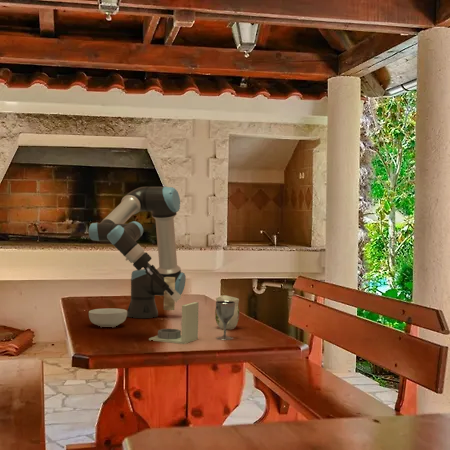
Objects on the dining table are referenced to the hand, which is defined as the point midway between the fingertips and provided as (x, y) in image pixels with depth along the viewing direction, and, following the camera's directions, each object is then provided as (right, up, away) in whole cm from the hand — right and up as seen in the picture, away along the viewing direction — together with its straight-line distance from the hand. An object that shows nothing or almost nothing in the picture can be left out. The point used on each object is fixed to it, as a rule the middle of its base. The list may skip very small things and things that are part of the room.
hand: (178, 299), depth 280 cm
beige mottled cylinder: (-4, -4, 0) cm, 6 cm away
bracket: (-2, -16, -1) cm, 16 cm away
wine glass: (+19, -17, +5) cm, 26 cm away
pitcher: (+20, -16, +28) cm, 38 cm away
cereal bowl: (-33, -15, +28) cm, 46 cm away
